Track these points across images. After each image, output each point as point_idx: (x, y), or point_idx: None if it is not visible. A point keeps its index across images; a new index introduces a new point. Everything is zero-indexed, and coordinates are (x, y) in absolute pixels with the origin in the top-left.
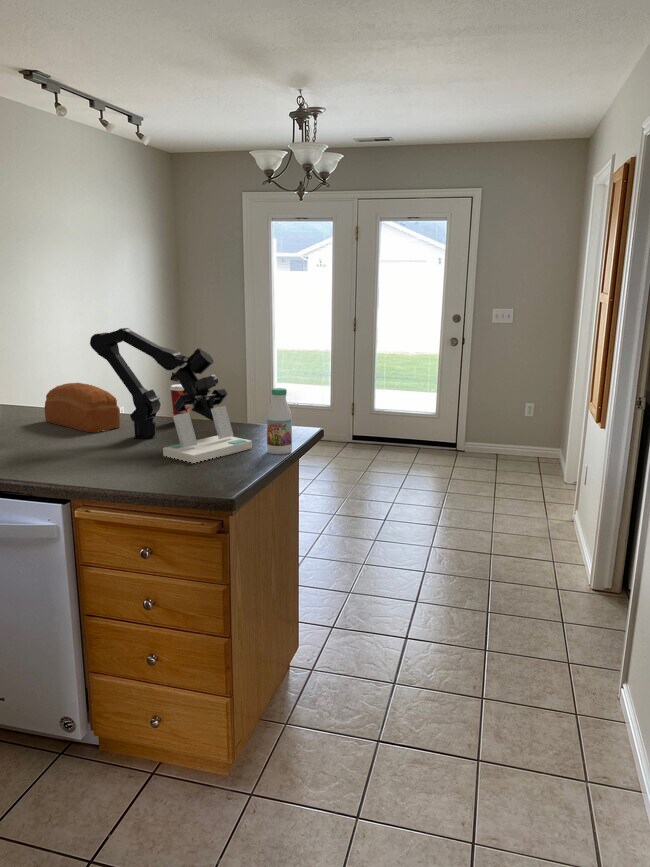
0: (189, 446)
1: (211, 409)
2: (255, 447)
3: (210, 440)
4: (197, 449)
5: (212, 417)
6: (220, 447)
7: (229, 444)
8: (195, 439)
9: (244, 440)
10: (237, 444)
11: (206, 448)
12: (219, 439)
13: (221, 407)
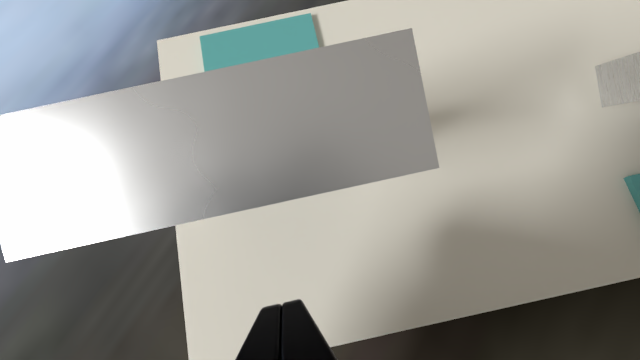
0: (626, 143)
1: (427, 138)
2: (149, 80)
3: (396, 223)
4: (597, 36)
5: (313, 321)
6: (432, 2)
7: (340, 35)
8: (636, 54)
9: (205, 46)
10: (294, 13)
11: (528, 28)
12: (317, 209)
13: (147, 92)
